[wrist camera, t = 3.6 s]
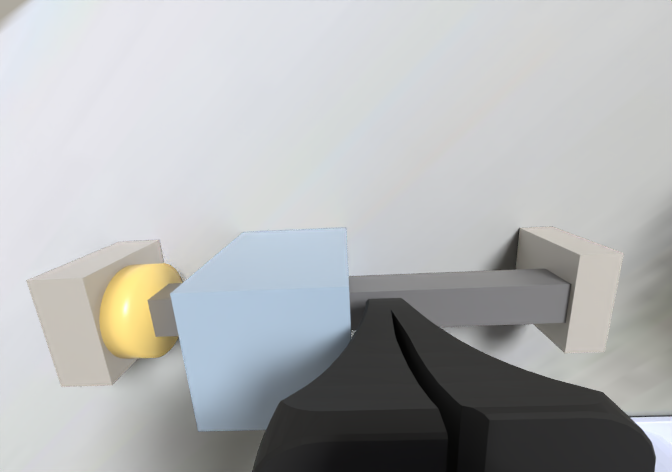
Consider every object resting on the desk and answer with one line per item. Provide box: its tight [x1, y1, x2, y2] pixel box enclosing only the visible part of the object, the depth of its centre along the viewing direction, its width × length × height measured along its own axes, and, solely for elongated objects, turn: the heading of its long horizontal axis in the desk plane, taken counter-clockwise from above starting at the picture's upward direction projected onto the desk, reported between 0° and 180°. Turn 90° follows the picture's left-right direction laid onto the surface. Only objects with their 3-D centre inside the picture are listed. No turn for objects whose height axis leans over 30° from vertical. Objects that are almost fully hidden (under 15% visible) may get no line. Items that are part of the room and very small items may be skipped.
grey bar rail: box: [26, 227, 624, 387], centre depth 14 cm, size 21×4×5 cm, turn 93°
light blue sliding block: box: [170, 228, 351, 432], centre depth 13 cm, size 5×5×7 cm
